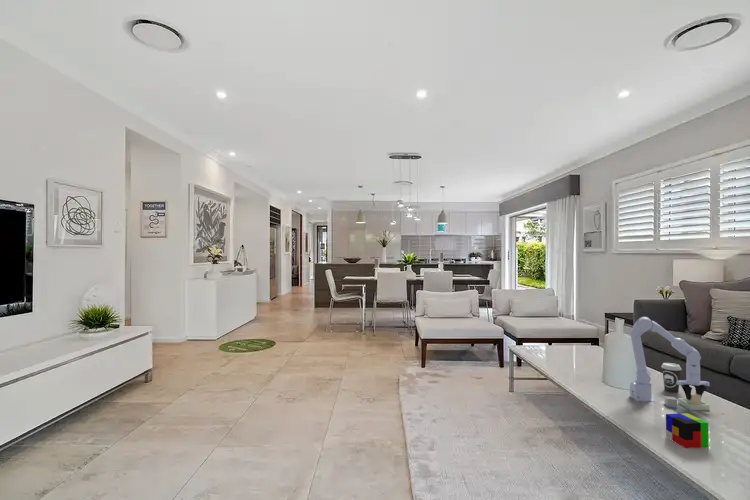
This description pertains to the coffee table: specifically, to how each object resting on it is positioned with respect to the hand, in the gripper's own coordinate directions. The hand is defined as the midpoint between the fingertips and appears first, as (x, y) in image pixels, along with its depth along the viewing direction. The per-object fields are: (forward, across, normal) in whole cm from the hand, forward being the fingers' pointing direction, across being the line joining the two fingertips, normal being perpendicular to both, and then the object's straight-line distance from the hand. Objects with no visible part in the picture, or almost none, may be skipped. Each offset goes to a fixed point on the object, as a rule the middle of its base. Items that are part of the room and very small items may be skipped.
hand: (693, 399), depth 211 cm
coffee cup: (+4, +5, +26) cm, 27 cm away
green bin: (+4, 0, 0) cm, 4 cm away
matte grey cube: (+3, -11, 0) cm, 12 cm away
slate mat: (+4, -10, -5) cm, 12 cm away
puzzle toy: (+4, -30, -42) cm, 52 cm away
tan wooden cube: (+2, 0, 0) cm, 2 cm away
